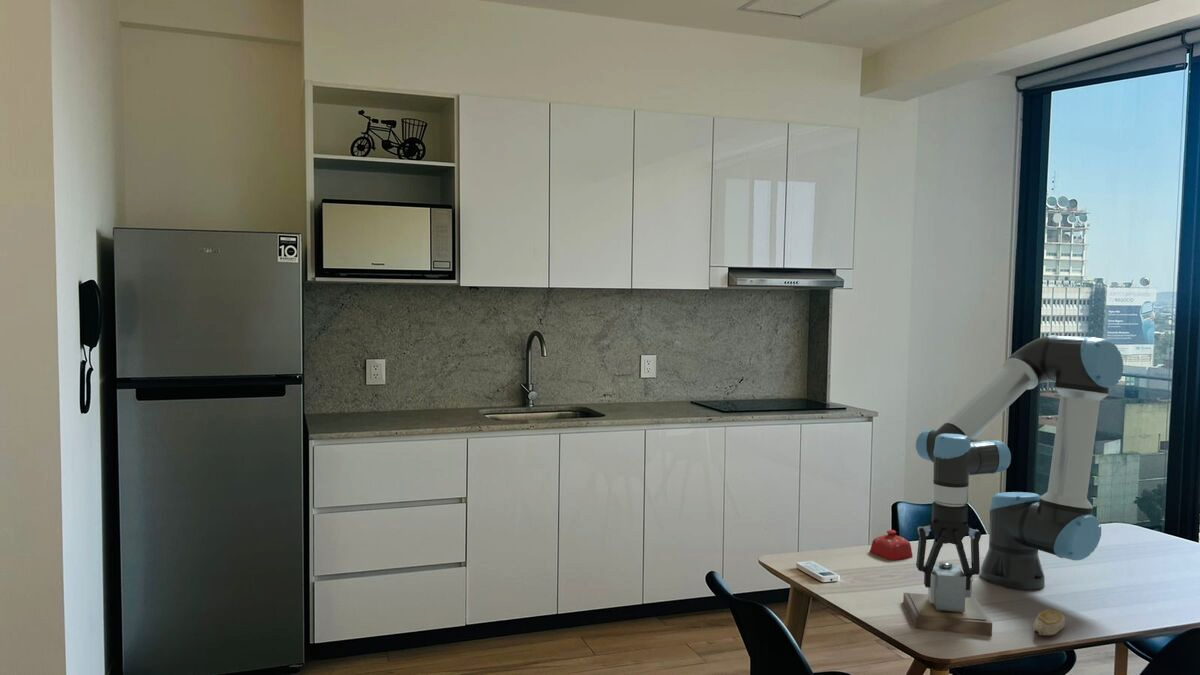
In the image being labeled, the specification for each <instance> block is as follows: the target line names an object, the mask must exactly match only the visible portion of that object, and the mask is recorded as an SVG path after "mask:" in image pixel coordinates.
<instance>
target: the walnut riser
mask: <svg viewBox="0 0 1200 675" xmlns="http://www.w3.org/2000/svg"><path fill="white" fill-rule="evenodd" d="M902 600H903V605H904V607H905V609H906V611H907V613H908V615H909V619H910V620H911V622H912V624H913V627H914V629H918V630H925V631H926V630H928V631H937V632H947V633H957V634H968V635H978V636H988V637H992V635H993V622H992V621H991V619H990V617H989V616H988V614H987V613H986V612H985V611H984V609H983V608H982V606H981V605H980V603H979V602H978V600H976V597H972V596H971V597H965V612H956V611H942V610H936V608H935V606H934V605H933V603H930V602H929V600H928V594H927V593H915V592H914V593H911V592H903V599H902Z"/></svg>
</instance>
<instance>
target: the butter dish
mask: <svg viewBox="0 0 1200 675" xmlns="http://www.w3.org/2000/svg"><path fill="white" fill-rule="evenodd" d="M886 533H887V534H883V535H880V536H877V537H875V538H873V540H872V542H871V545H870V550H869V553H871V554H873V555H875V556H878V557H880V558H882V559H884V560H888V561H903V560H907V559H912V558H913V551H912V550H913V549H912V545H911V542H910V541H909V540H907V539H906V538H904V537H902V536H900V535H897V531H896V530H894V529H888V530H887V531H886Z"/></svg>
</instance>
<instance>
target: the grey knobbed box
mask: <svg viewBox="0 0 1200 675" xmlns="http://www.w3.org/2000/svg"><path fill="white" fill-rule="evenodd" d="M932 572H933V573H934V575H935V583H934V603H933V605H934V606H935V608H936V610H942V611H956V612H965V595H966V576H965V575H964V572H963V570H962V569H961V567H959V565H958V564H956V563H955V564H953V563H952V562H950V561H949V562H948V561H940V562H939V563H938V562H935V565H934V568H933V570H932Z"/></svg>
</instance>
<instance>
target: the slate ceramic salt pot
mask: <svg viewBox="0 0 1200 675" xmlns="http://www.w3.org/2000/svg"><path fill="white" fill-rule="evenodd" d="M973 576H974V575H972V577H971V581H970V590H966V595H965V597H971V598H972V592H973V590H972V588H973V581H974V577H973Z"/></svg>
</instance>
